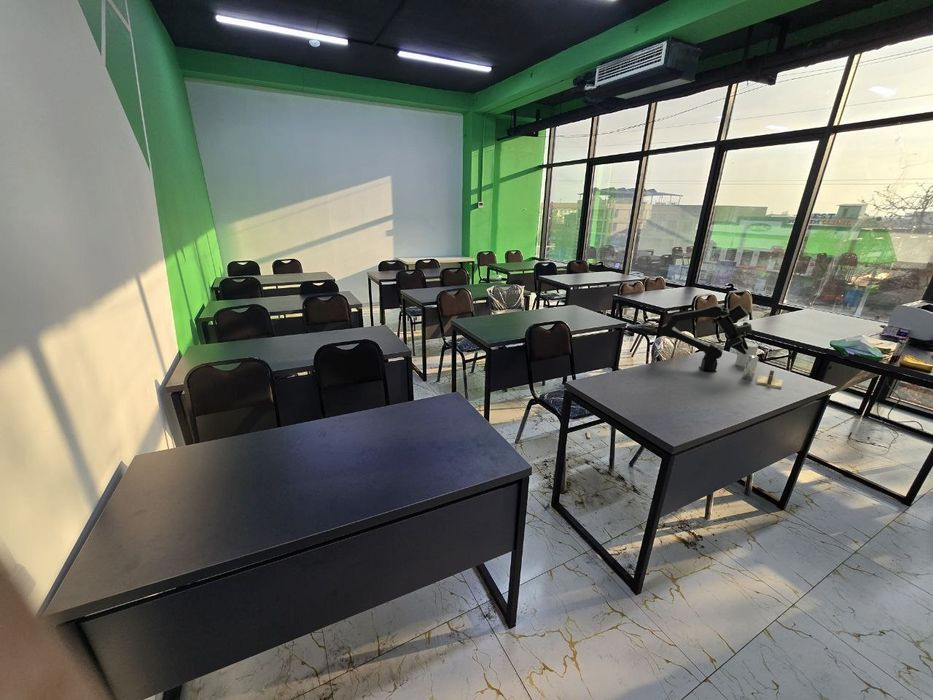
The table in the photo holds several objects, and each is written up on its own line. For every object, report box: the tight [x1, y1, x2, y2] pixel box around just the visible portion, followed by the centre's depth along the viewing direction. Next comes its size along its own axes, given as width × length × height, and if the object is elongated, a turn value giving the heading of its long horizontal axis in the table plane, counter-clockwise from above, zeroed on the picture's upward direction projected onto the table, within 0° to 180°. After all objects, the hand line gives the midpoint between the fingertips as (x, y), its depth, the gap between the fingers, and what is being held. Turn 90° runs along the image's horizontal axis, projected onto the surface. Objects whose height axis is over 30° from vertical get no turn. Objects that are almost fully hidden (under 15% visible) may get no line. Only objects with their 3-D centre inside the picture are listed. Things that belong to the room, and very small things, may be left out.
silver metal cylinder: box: [741, 355, 760, 381], centre depth 201 cm, size 5×5×12 cm
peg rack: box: [755, 369, 784, 390], centre depth 196 cm, size 10×10×5 cm
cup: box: [735, 341, 759, 368], centre depth 219 cm, size 8×8×12 cm
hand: (746, 351), depth 200 cm, fingers open, 9 cm apart
